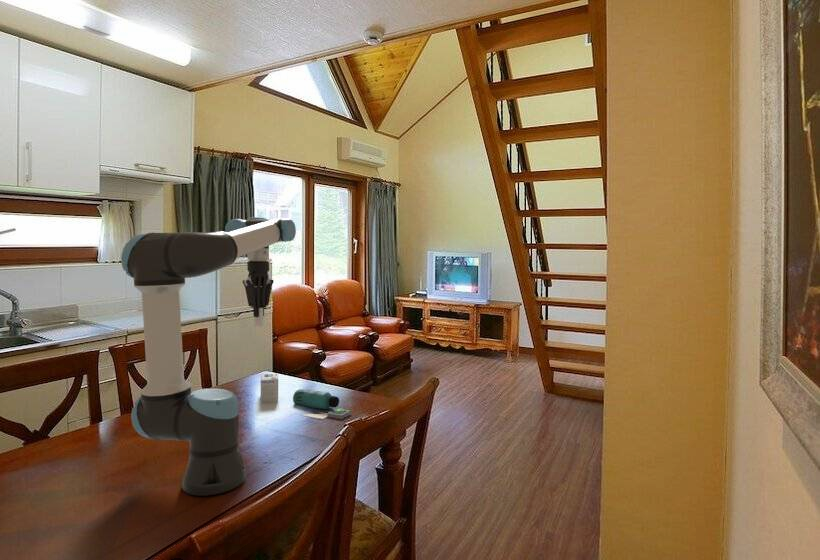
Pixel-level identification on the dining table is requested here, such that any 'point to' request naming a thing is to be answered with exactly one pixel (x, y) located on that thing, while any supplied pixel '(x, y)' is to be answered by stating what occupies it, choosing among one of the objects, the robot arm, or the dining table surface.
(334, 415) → the button box
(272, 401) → the light bulb box
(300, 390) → the beverage bottle
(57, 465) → the dining table surface
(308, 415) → the cream rectangular board
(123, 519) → the dining table surface
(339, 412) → the button
